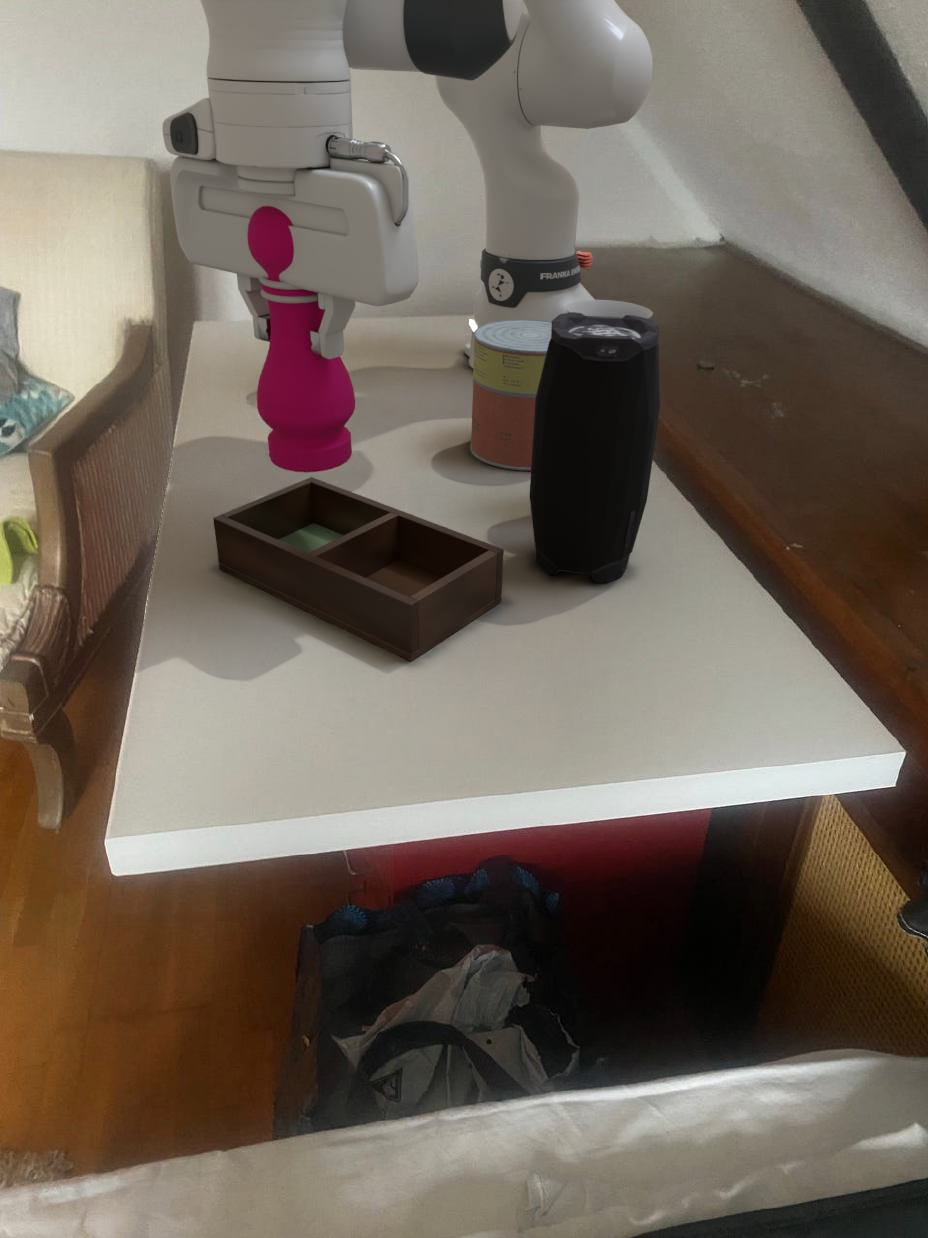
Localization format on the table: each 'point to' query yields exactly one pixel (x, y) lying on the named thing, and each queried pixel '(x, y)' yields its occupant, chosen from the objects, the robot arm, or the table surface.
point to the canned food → (507, 390)
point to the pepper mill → (297, 363)
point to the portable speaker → (593, 442)
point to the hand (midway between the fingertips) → (298, 347)
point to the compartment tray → (361, 564)
